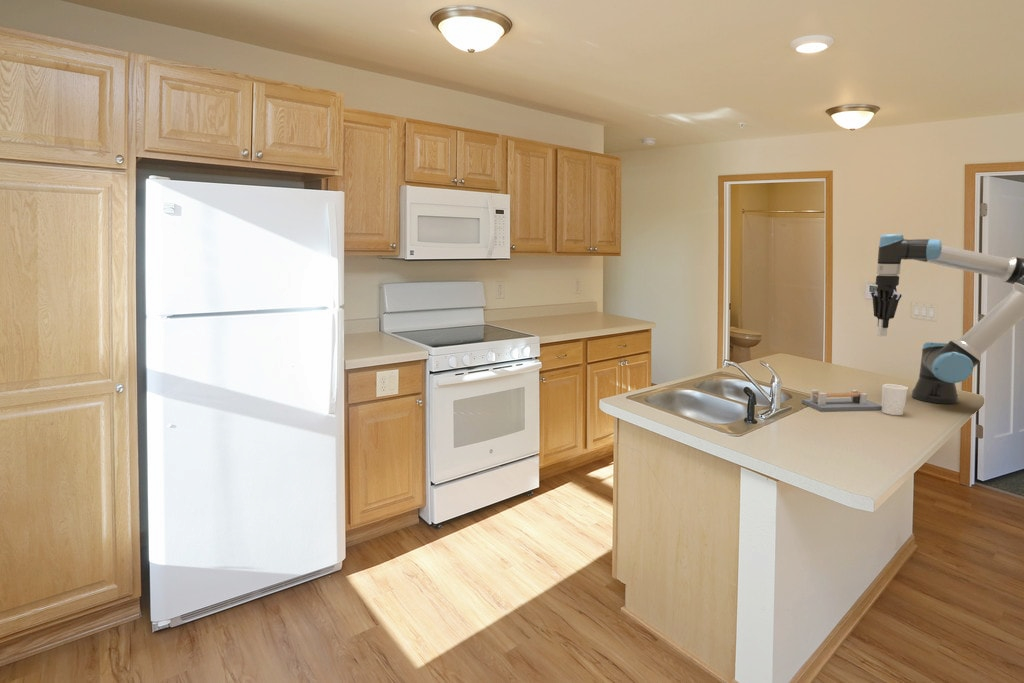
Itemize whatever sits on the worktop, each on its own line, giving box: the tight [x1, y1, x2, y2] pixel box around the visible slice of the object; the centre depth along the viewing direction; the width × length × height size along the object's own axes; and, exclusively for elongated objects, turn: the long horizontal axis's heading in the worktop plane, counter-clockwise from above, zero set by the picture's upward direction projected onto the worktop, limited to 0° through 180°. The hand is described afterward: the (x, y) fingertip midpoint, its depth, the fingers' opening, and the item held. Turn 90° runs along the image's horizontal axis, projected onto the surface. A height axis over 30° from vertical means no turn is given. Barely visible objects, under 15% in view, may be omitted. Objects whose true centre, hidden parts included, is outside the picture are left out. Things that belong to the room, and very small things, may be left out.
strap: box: [813, 391, 865, 398], centre depth 220 cm, size 19×3×1 cm, turn 96°
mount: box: [801, 389, 882, 413], centre depth 220 cm, size 25×12×6 cm, turn 96°
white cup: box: [880, 383, 909, 416], centre depth 212 cm, size 8×8×10 cm
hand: (881, 335), depth 225 cm, fingers closed
